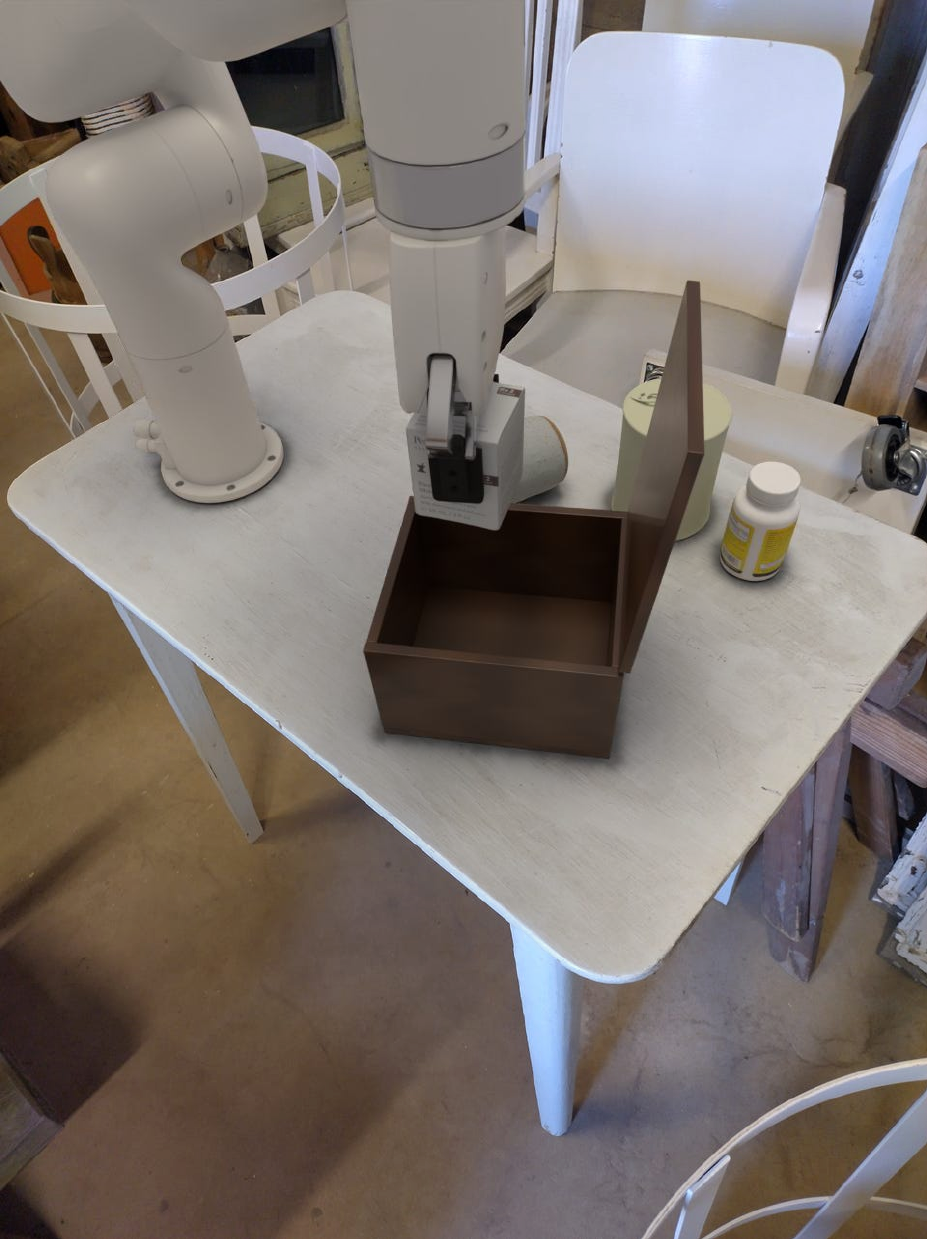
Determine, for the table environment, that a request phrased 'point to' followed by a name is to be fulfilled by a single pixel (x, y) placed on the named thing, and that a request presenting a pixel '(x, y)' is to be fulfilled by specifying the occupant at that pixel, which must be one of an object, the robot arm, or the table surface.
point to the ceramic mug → (541, 458)
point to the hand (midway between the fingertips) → (467, 459)
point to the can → (633, 440)
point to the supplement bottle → (761, 522)
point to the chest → (503, 630)
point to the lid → (664, 475)
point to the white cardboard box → (499, 454)
